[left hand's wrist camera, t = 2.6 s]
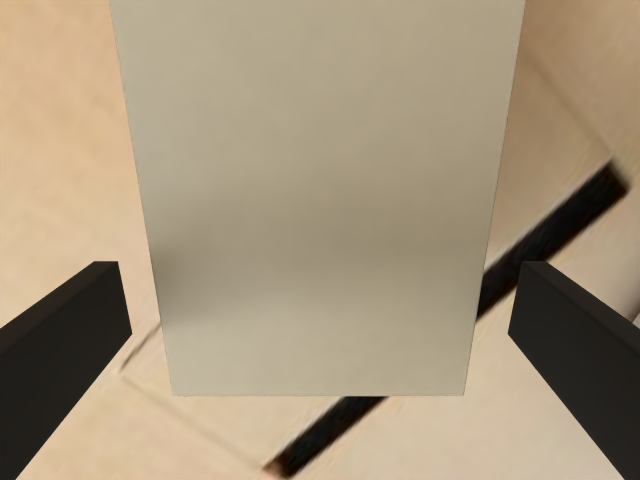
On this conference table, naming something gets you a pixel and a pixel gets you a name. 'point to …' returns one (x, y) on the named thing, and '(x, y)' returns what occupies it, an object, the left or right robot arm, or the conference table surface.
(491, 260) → the conference table surface
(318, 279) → the cabinet
